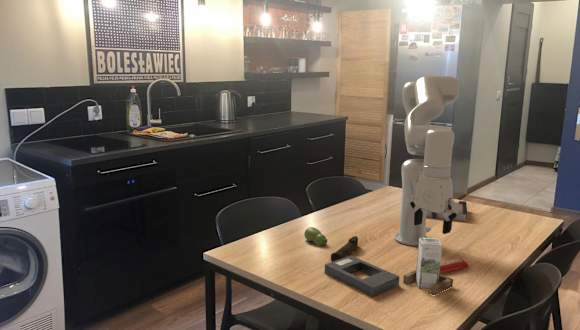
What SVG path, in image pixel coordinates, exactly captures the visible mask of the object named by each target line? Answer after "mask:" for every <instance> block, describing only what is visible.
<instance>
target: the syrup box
mask: <svg viewBox="0 0 580 330" xmlns="http://www.w3.org/2000/svg"><path fill="white" fill-rule="evenodd" d="M417 249H418V250H417V261H416V269H415V270H416V280H415V282H416V284H417V287H418V288H419V289H424V290H425V289H426V290H431V286H434V285H436V284H438V281H439V271H440V262H442V251H443V250H442V249H443V245H442V243H441V241H440V239H439V238H435V237H428V238H419V246H418V248H417Z"/></svg>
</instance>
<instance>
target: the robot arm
mask: <svg viewBox="0 0 580 330" xmlns="http://www.w3.org/2000/svg"><path fill="white" fill-rule="evenodd" d="M460 88H461V87H460V84H459V81H458V79H457V78H456V77H454V76H450V75H449V76H448V75H447V76H446V75H426V76H421V77H420V78H418V79H417V80H413V81H409V82H405V84H404V85H403V87H402V93H401V94H402V95H401V97H402V104H403V108H404V111H405V113H406V117H405V121H404V127H403V128H404V141H405V145H406V150H407V152H408V154H410V155H412V156H422V157H423V158H411V159H406V160H405V161H404V162H402V165H401V182H402V183H401V186H402V188H401V189H402V190H401V203H400V204H401V206H400V220H399V229H398V230H399V231H398V232H397V233H396V234H394V240H395V241H396V242H398V243H400V244H403V245H407V246H411V247H412V246H414V247H419V238H429V237H428V236H427V233H429V232H431V231H432V228H431V227H430V226H427V217H426V216H427V210H428V211H431V212H435V213H440V214H441V213H442V214H443V216H444V218H445V219H443V221H442V234H443V235H447V234H450V233H451V231H452V227H453V226H452V225H453V219H454V218H456V217H457V216H458V215H459V213H460V212H461V210H462V207H461V206H459V205H458V204H457V203H458V202H456V201H455V200H453V199H454V190H453V189H454V188H453V186H454V185H453V179H452V177H451V169H452V158H453V146H454V144H455V132H453V130H452V128H451V127H449V126H444V125H442V126H441V125H432V124H431V121H434V120H436V119H438V118H439V117H441V115H443V113H444V110H445V106H450V105H451V104H453V103H455V102H456V101H457V100H458V98H459V96H460ZM452 207H453V208H454V212H453V213H452V212H451V209H452Z"/></svg>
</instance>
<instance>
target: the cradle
mask: <svg viewBox="0 0 580 330" xmlns="http://www.w3.org/2000/svg"><path fill="white" fill-rule="evenodd" d="M416 270H417V269H415V270H412V271H410V272H408V273H406V274H403V280H402V282H403V284H406V285H408V284H410V283H413V282H414V281H416ZM453 283H454V279H453V278H452V277H448V276H446V275H443V274H439V281H438V284H436V285H434V286H431V289H430V294H432V295H435V296H437V295H439V294H441V293H443V292H444V290H445V291H447V290H449V289H451V288H453ZM450 287H451V288H450ZM448 288H449V289H448ZM446 289H447V290H446ZM442 291H443V292H442ZM440 292H441V293H440ZM438 293H439V294H438ZM436 294H437V295H436ZM432 295H431V296H432Z"/></svg>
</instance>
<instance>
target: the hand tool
mask: <svg viewBox="0 0 580 330" xmlns="http://www.w3.org/2000/svg"><path fill="white" fill-rule="evenodd" d="M358 237H359V236H357V235H355V236H352V237H351V238H349V239H348V241H347V243H346V244H344V245H343V246H342V247H340V248H339V249H338V250H336V251H335V252H333V253H332V252H331V254H330V261H331V262H333V261H336V260H339V259H342V258H345V257H348V256H350V254H351V253H354V252H356V251H357V248H358V245H359V238H358Z"/></svg>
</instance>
